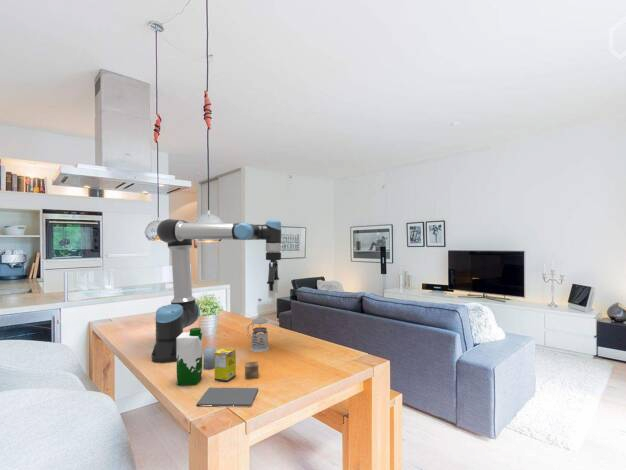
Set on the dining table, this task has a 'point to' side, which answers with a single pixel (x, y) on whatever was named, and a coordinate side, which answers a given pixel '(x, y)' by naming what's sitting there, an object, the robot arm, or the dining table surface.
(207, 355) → the slate-blue pebble
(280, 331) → the dining table surface
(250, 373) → the walnut block
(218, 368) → the supplement box
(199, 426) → the dining table surface
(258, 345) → the grey wire-handled lantern
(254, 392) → the charcoal mat
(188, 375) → the soya milk
